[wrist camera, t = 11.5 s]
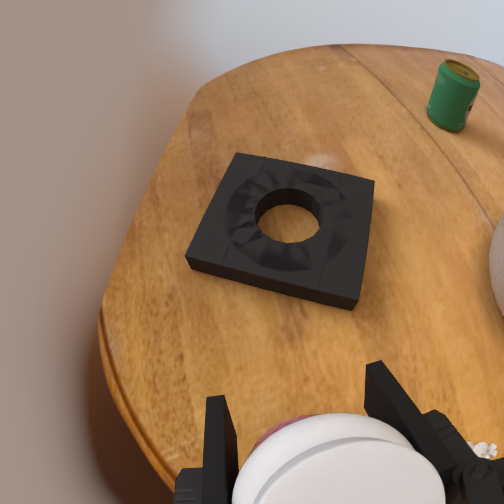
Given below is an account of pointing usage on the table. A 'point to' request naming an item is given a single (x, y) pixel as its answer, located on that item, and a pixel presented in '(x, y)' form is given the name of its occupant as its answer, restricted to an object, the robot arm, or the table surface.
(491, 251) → the planter
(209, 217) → the black pad
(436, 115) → the beverage can
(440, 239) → the table surface
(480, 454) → the chess piece
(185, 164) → the table surface
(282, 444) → the pill bottle
